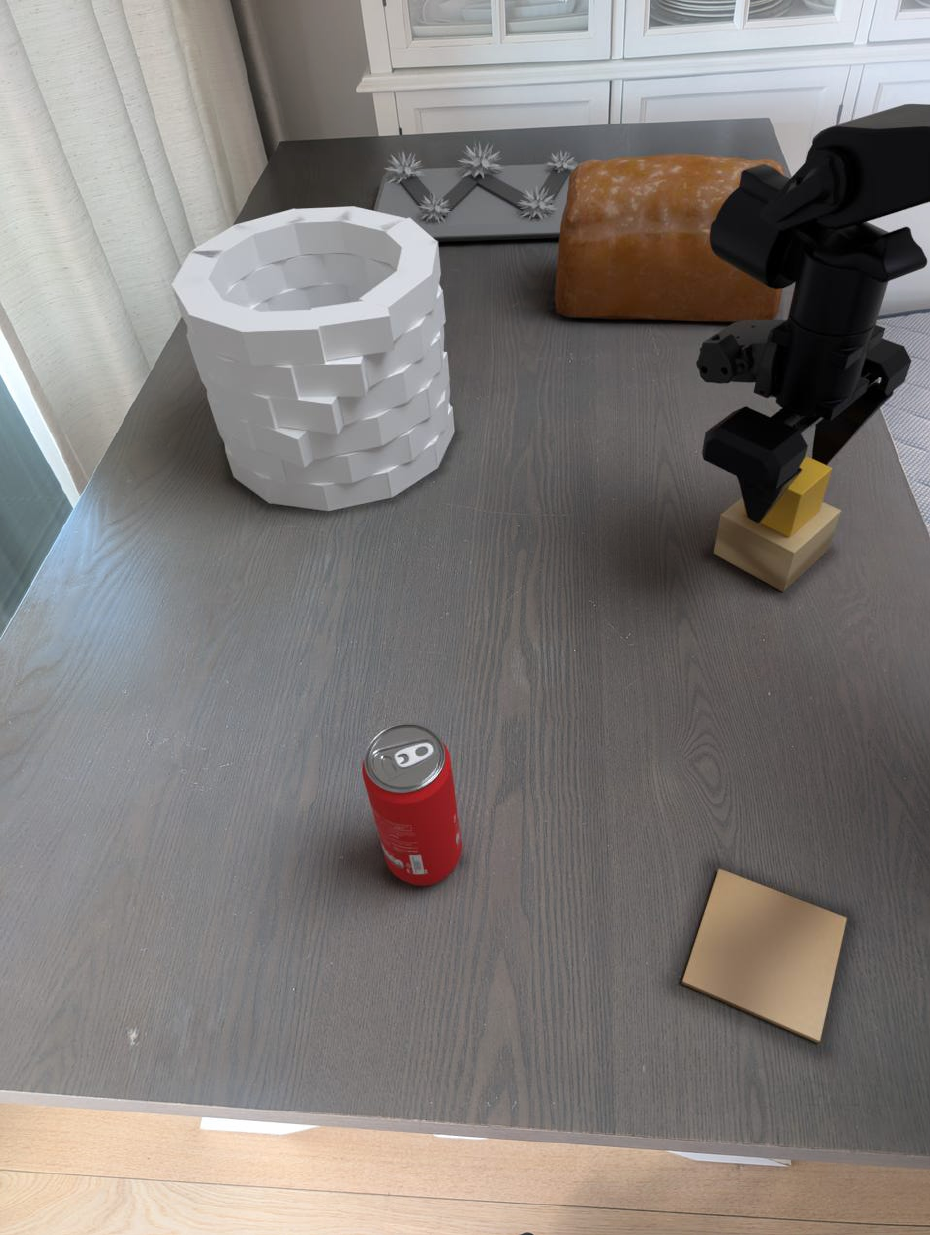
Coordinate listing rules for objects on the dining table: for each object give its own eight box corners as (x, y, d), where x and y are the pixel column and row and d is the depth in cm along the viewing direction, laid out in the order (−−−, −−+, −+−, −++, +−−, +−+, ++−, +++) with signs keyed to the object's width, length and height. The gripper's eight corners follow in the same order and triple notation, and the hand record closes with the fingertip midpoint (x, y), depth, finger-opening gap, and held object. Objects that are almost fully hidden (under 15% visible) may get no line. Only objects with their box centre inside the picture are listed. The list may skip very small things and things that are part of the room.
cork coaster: (845, 920, 55) (847, 917, 55) (818, 1043, 51) (820, 1041, 50) (718, 870, 58) (718, 867, 58) (681, 983, 54) (681, 981, 53)
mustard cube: (820, 511, 74) (833, 467, 71) (789, 538, 72) (801, 495, 69) (772, 487, 77) (783, 445, 73) (742, 513, 75) (751, 470, 71)
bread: (781, 329, 102) (812, 187, 90) (551, 323, 106) (552, 187, 94) (772, 271, 111) (799, 135, 99) (561, 268, 115) (563, 137, 103)
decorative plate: (366, 250, 122) (359, 196, 116) (384, 185, 136) (378, 135, 131) (588, 242, 119) (590, 187, 114) (582, 176, 134) (584, 125, 128)
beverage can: (375, 839, 61) (348, 738, 52) (445, 810, 62) (429, 707, 54) (402, 904, 58) (377, 809, 49) (475, 873, 59) (463, 774, 50)
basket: (219, 397, 100) (166, 229, 86) (426, 356, 102) (408, 187, 89) (236, 542, 83) (175, 363, 69) (484, 489, 86) (473, 306, 72)
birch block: (828, 550, 77) (841, 510, 74) (783, 592, 74) (794, 553, 71) (759, 514, 81) (768, 474, 78) (713, 553, 78) (720, 514, 75)
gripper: (804, 234, 69) (767, 404, 81) (652, 330, 61) (635, 504, 73) (942, 277, 64) (881, 455, 75) (795, 390, 56) (752, 569, 67)
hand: (786, 492), depth 73 cm, fingers open, 9 cm apart
